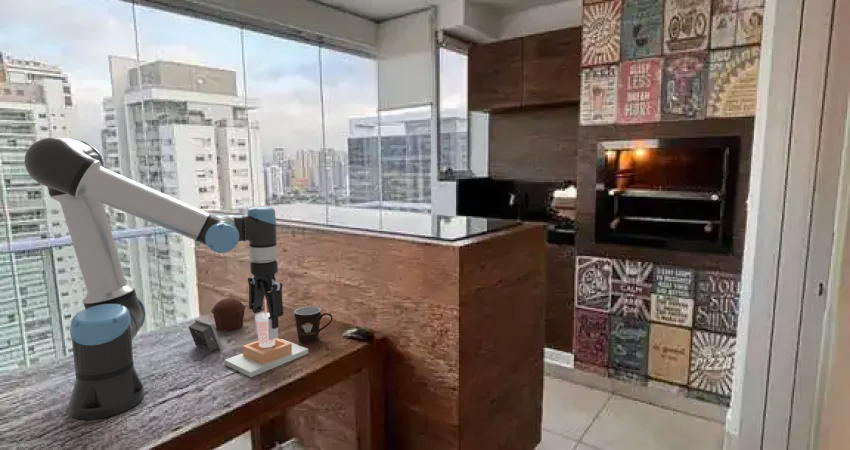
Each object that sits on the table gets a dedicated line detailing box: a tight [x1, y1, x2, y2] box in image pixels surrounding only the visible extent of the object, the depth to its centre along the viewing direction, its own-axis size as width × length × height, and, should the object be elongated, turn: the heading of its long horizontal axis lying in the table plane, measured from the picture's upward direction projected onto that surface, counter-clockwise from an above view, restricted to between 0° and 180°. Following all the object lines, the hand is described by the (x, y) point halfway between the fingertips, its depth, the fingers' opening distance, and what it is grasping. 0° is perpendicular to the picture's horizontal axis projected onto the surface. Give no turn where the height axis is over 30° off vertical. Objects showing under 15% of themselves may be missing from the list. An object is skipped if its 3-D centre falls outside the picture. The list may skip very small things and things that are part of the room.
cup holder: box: [224, 337, 309, 378], centre depth 139 cm, size 20×13×4 cm, turn 144°
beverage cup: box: [254, 298, 275, 348], centre depth 138 cm, size 6×6×14 cm
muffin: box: [211, 297, 247, 332], centre depth 165 cm, size 12×11×10 cm
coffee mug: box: [293, 306, 333, 344], centre depth 154 cm, size 12×9×10 cm
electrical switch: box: [188, 318, 223, 353], centre depth 146 cm, size 9×5×9 cm, turn 57°
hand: (266, 335), depth 139 cm, fingers closed on beverage cup, 6 cm apart
